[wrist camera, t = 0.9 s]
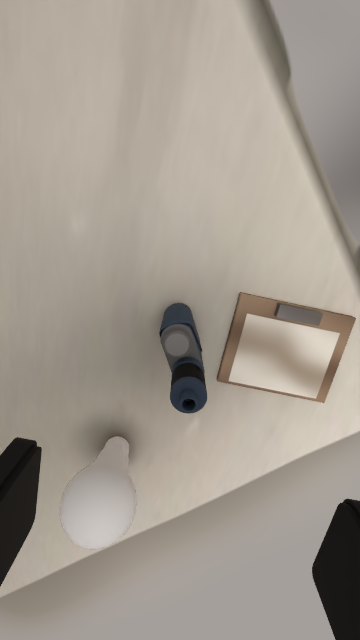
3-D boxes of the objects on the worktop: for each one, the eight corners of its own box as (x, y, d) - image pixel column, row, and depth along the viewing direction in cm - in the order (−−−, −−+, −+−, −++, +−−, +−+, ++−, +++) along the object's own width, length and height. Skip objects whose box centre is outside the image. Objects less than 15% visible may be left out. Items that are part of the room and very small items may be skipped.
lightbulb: (110, 474, 34) (77, 580, 24) (79, 432, 33) (29, 524, 22) (157, 451, 33) (145, 551, 23) (128, 407, 32) (100, 491, 22)
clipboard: (321, 399, 32) (327, 407, 30) (217, 378, 31) (218, 385, 30) (352, 316, 29) (360, 320, 28) (240, 292, 29) (242, 295, 27)
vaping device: (178, 355, 31) (174, 427, 19) (161, 306, 29) (146, 351, 18) (203, 348, 30) (215, 417, 19) (187, 298, 29) (189, 338, 17)
